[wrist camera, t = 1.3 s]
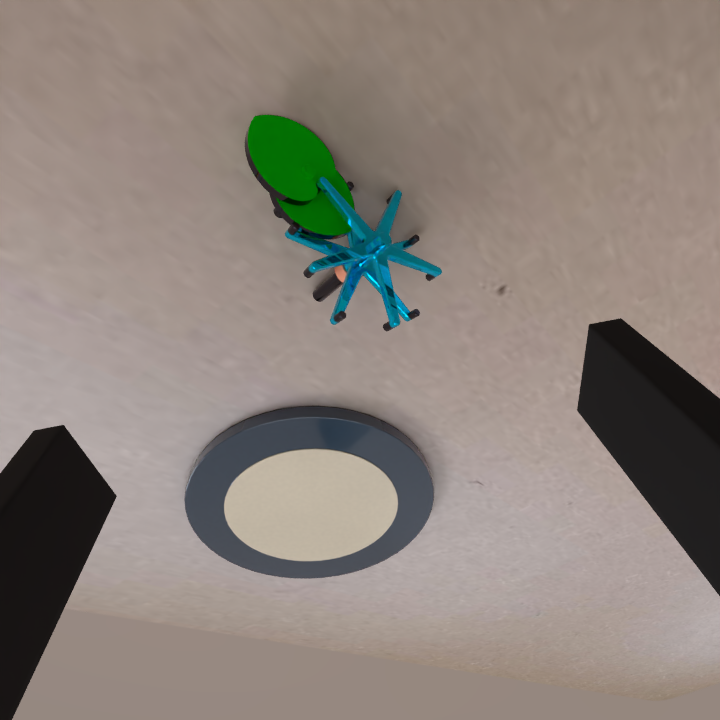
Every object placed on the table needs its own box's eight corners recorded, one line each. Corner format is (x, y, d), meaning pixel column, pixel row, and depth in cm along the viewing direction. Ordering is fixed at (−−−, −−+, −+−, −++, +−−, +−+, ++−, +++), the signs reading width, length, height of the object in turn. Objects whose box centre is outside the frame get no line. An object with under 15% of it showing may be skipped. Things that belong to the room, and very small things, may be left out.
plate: (419, 383, 31) (422, 394, 30) (438, 546, 42) (442, 559, 41) (144, 433, 31) (138, 447, 30) (235, 581, 43) (233, 595, 42)
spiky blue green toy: (471, 262, 24) (403, 354, 19) (394, 308, 29) (327, 388, 25) (318, 71, 21) (200, 127, 17) (266, 163, 27) (168, 222, 22)
